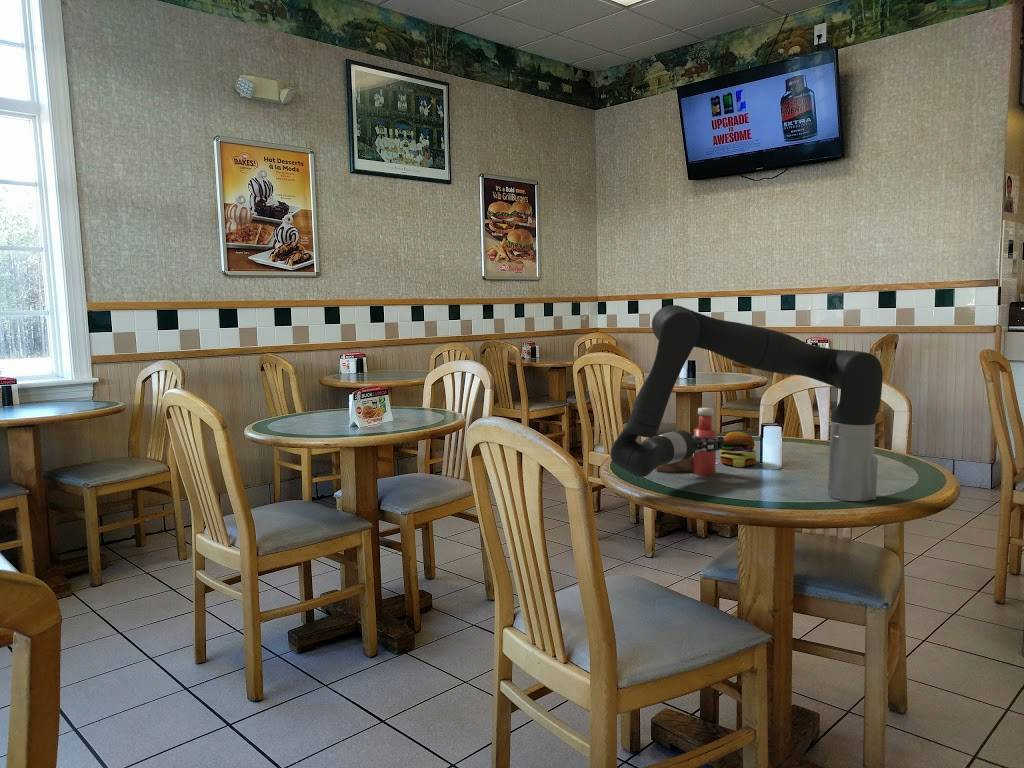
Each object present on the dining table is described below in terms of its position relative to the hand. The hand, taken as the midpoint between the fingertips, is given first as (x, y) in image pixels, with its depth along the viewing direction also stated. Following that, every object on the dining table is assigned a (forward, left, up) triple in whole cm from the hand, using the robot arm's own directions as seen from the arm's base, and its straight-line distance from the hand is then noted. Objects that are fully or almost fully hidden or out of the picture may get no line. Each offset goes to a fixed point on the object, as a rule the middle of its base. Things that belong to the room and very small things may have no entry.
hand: (707, 438), depth 197 cm
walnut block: (+8, -6, -9) cm, 13 cm away
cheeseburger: (-11, -11, -9) cm, 18 cm away
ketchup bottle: (+1, +1, -9) cm, 9 cm away
